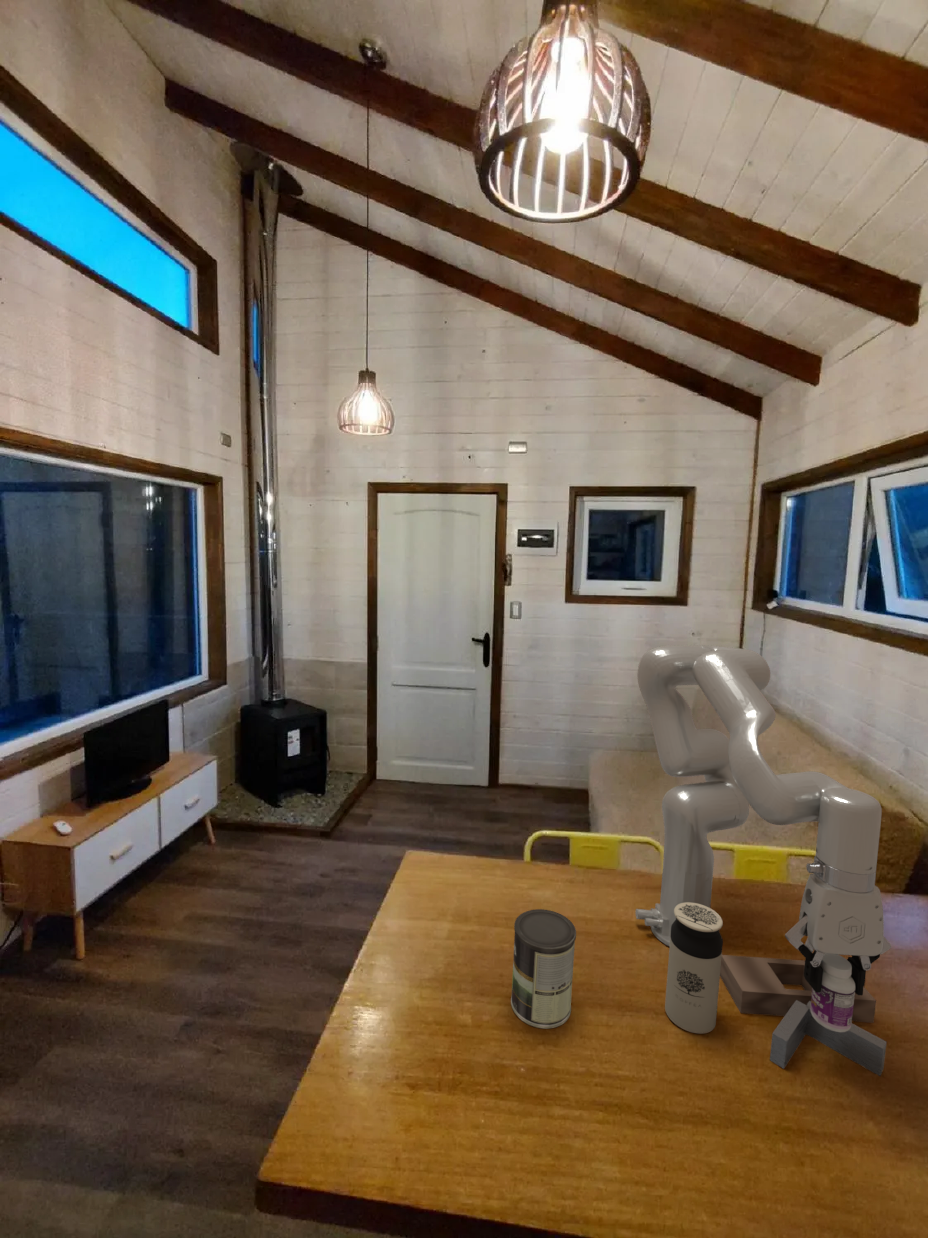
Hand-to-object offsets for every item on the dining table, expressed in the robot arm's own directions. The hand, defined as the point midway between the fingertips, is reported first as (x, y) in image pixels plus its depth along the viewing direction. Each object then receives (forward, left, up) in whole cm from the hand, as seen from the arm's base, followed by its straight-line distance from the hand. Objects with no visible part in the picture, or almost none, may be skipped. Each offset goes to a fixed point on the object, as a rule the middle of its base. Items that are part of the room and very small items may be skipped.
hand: (833, 986), depth 86 cm
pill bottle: (0, 0, -6) cm, 6 cm away
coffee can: (-43, +7, -13) cm, 45 cm away
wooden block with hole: (+2, +13, -13) cm, 18 cm away
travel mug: (-18, +7, -13) cm, 23 cm away
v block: (0, +3, -13) cm, 13 cm away
